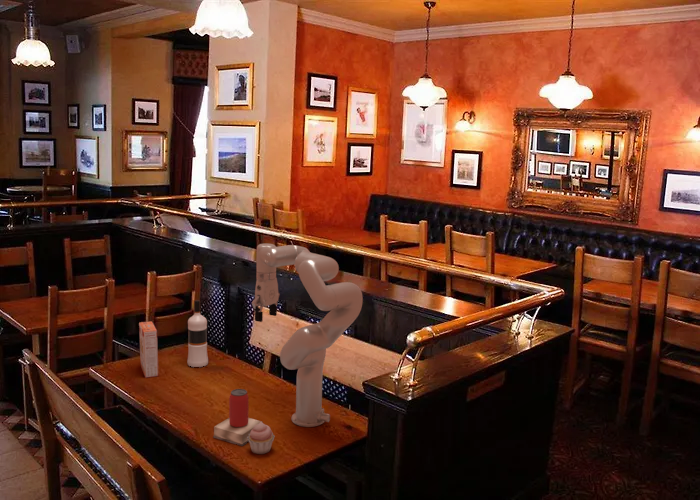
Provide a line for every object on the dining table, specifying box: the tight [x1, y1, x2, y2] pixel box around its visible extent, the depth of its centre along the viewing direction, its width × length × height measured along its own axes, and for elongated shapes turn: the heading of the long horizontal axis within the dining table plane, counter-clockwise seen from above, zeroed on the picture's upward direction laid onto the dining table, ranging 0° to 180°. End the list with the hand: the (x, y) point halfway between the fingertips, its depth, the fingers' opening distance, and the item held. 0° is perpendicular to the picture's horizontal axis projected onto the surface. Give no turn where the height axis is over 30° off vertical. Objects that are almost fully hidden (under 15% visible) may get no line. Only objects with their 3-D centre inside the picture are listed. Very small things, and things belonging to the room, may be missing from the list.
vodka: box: [186, 299, 209, 368], centre depth 294 cm, size 9×9×30 cm
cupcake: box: [247, 421, 275, 455], centre depth 220 cm, size 9×9×10 cm
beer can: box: [228, 388, 249, 427], centre depth 230 cm, size 7×7×12 cm
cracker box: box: [138, 321, 159, 379], centre depth 285 cm, size 14×6×21 cm, turn 25°
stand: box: [212, 417, 263, 447], centre depth 231 cm, size 12×12×4 cm
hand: (265, 318), depth 257 cm, fingers open, 9 cm apart
